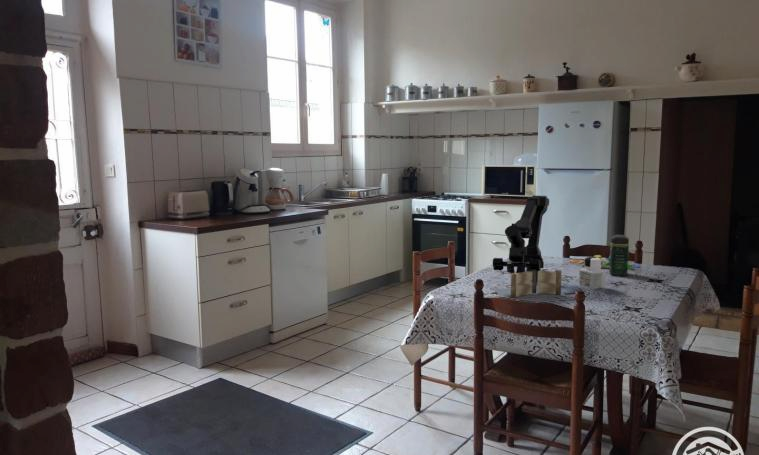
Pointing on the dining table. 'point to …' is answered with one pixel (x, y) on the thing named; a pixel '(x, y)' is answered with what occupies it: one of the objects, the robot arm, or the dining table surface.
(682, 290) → the dining table surface
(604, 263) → the shape sorter
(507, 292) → the card
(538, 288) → the fixed fence section
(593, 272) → the container
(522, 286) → the hinged fence panel
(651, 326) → the dining table surface
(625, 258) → the coffee jar
